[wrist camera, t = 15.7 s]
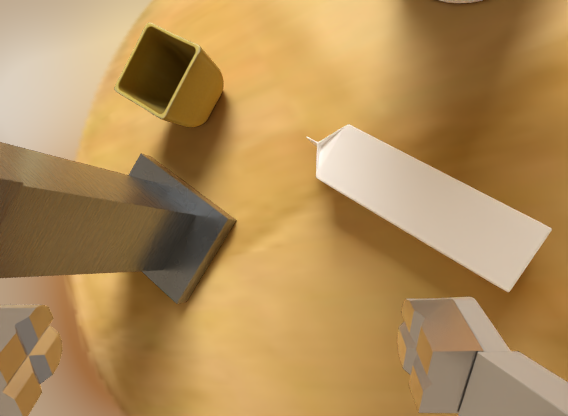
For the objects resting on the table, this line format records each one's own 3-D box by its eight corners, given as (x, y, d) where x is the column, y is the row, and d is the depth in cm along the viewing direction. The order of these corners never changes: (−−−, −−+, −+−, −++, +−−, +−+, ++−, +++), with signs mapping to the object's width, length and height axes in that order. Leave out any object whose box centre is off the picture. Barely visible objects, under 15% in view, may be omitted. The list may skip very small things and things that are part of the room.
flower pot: (162, 115, 53) (111, 89, 45) (193, 57, 52) (146, 20, 44) (208, 142, 50) (162, 120, 42) (242, 81, 49) (201, 46, 41)
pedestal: (109, 231, 54) (-192, 208, 29) (151, 157, 53) (-124, 62, 27) (186, 301, 48) (-105, 353, 23) (236, 220, 47) (-12, 176, 21)
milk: (536, 233, 36) (337, 127, 44) (554, 228, 30) (321, 108, 38) (498, 288, 36) (308, 173, 44) (508, 294, 31) (289, 161, 39)
